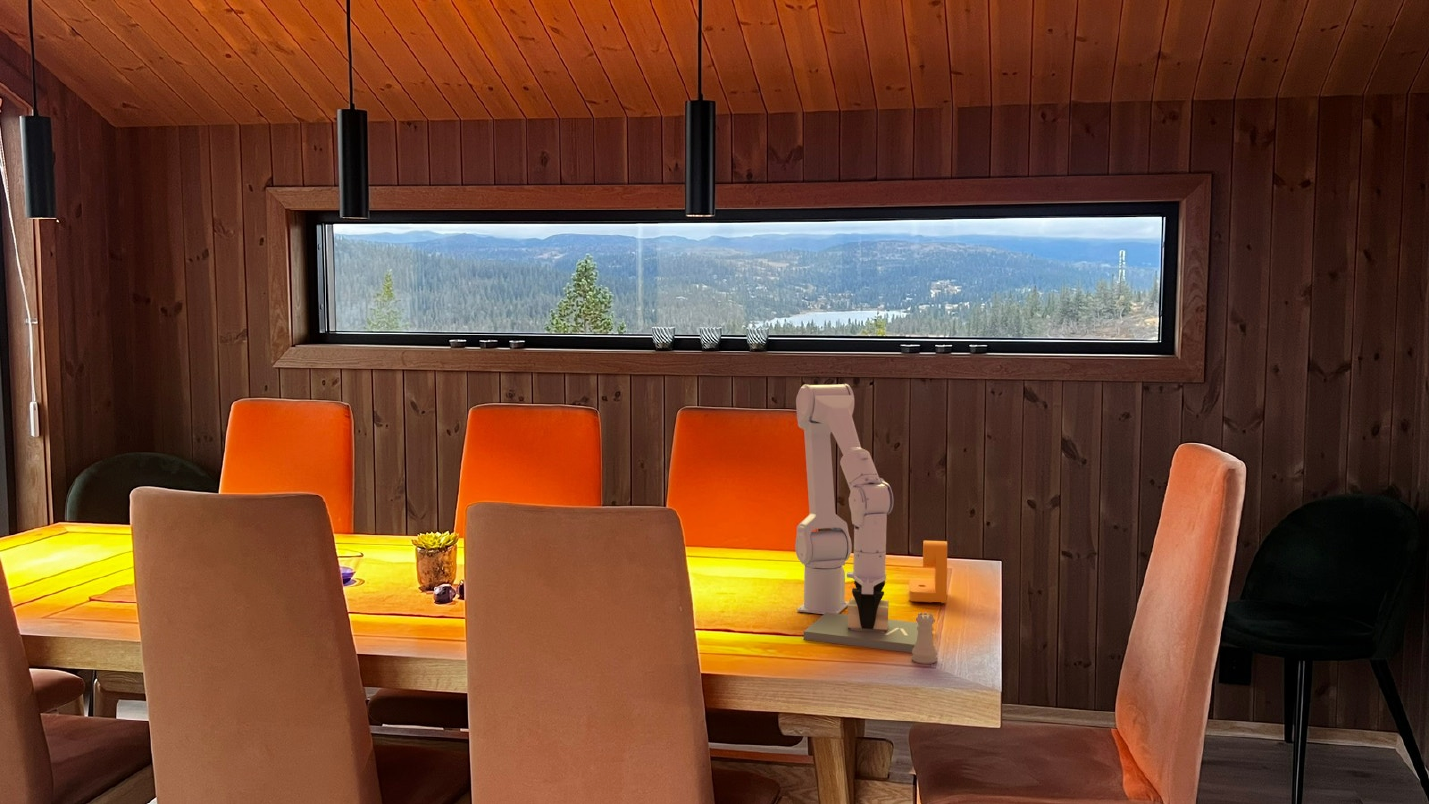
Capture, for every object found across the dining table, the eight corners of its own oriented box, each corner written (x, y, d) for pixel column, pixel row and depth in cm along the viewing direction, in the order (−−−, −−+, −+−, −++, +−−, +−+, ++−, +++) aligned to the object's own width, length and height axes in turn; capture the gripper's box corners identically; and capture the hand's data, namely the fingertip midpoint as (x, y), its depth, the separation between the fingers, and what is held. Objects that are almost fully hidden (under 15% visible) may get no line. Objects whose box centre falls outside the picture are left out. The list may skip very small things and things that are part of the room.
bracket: (909, 591, 253) (910, 534, 252) (944, 593, 252) (946, 536, 251) (909, 605, 242) (910, 545, 241) (946, 606, 241) (947, 547, 240)
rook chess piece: (934, 666, 203) (936, 619, 202) (908, 662, 204) (909, 616, 204) (940, 658, 207) (941, 612, 206) (914, 655, 208) (915, 609, 208)
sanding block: (849, 622, 223) (849, 598, 222) (887, 624, 222) (888, 600, 221) (847, 630, 218) (848, 605, 217) (887, 632, 217) (887, 607, 216)
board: (826, 620, 230) (826, 612, 230) (931, 632, 223) (931, 624, 222) (803, 639, 217) (803, 631, 217) (914, 653, 210) (914, 644, 210)
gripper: (849, 540, 226) (848, 612, 228) (845, 557, 212) (843, 633, 213) (887, 542, 225) (886, 614, 226) (885, 559, 211) (884, 636, 212)
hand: (868, 624), depth 220 cm, fingers closed on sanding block, 5 cm apart
